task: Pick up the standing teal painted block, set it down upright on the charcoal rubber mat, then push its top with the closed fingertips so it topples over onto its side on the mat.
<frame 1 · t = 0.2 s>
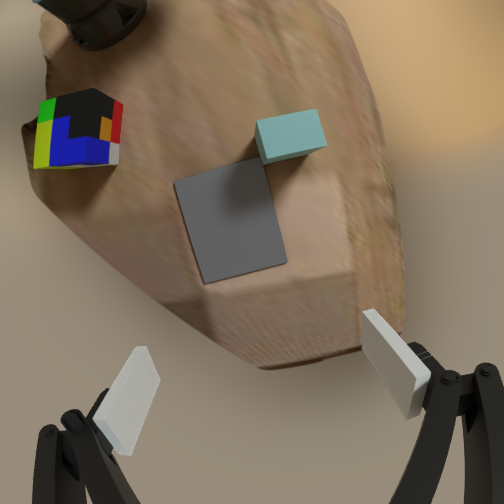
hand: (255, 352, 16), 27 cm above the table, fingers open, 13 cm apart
puzzle toy: (95, 137, 38), on the table
rubber mat: (231, 221, 41), on the table
teal block: (281, 144, 38), on the table
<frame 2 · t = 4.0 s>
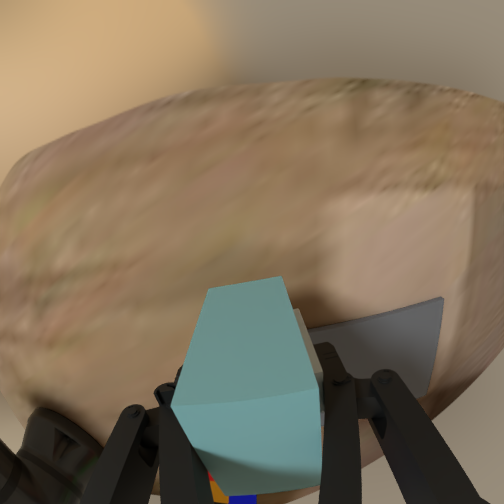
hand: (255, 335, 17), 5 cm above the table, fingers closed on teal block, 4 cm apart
puzzle toy: (217, 476, 30), on the table
rubber mat: (368, 371, 24), on the table
teal block: (254, 331, 18), point 5 cm above the table, touching gripper
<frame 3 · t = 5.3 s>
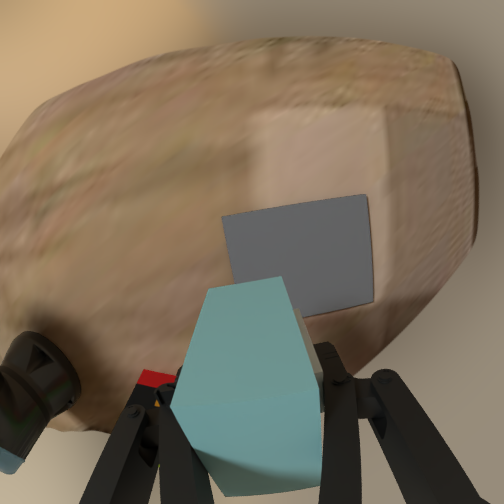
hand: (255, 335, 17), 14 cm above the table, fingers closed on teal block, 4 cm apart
puzzle toy: (178, 399, 36), on the table
rubber mat: (304, 261, 31), on the table
teal block: (254, 331, 18), point 14 cm above the table, touching gripper
when the fingers open (2 cm above the table, at t = 6.8 s): teal block stays where it is, resting on rubber mat.
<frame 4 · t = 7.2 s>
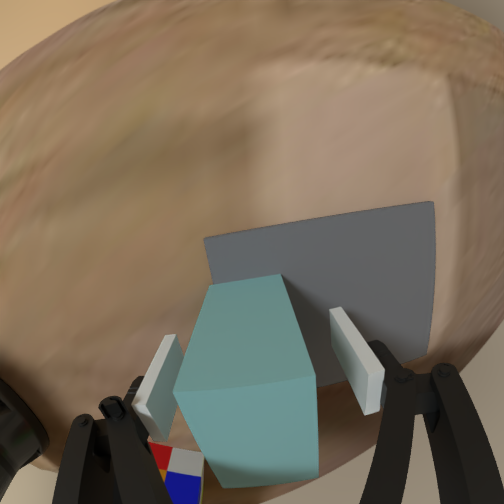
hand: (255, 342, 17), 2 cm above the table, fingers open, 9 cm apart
puzzle toy: (161, 464, 24), on the table
rubber mat: (338, 308, 19), on the table
teal block: (253, 328, 18), point 1 cm above the table, touching rubber mat
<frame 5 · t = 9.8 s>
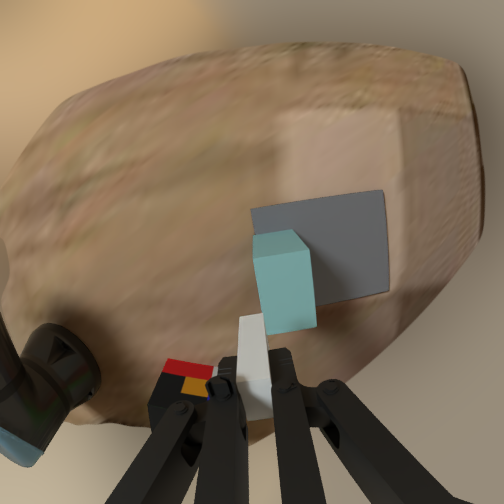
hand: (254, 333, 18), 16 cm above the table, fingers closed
puzzle toy: (201, 388, 38), on the table
rubber mat: (326, 252, 33), on the table
teal block: (277, 261, 32), point 1 cm above the table, touching rubber mat
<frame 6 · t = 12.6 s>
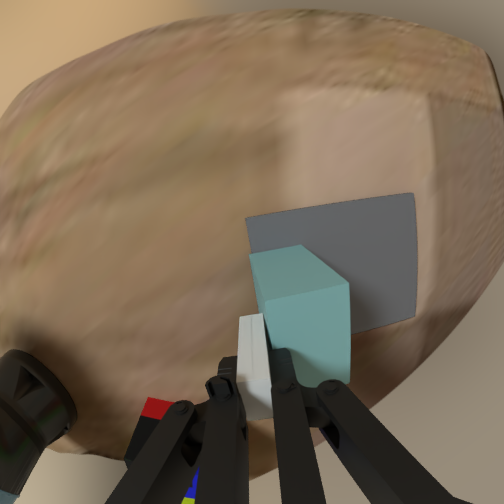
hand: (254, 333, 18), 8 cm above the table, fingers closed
puzzle toy: (189, 428, 30), on the table
rubber mat: (343, 272, 25), on the table
teal block: (281, 287, 24), point 1 cm above the table, touching gripper, rubber mat
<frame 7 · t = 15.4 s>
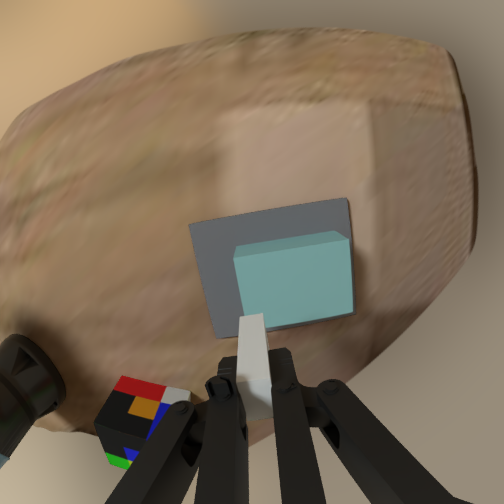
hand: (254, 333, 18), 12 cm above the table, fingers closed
puzzle toy: (157, 406, 35), on the table
rubber mat: (278, 271, 29), on the table
teal block: (241, 287, 27), point 3 cm above the table, tilted 90°, touching rubber mat
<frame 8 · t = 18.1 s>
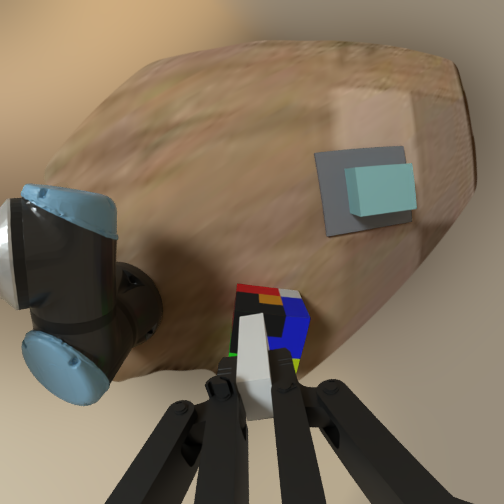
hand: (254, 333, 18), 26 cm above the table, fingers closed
puzzle toy: (263, 314, 47), on the table
rubber mat: (367, 188, 41), on the table
teal block: (352, 191, 39), point 3 cm above the table, tilted 90°, touching rubber mat
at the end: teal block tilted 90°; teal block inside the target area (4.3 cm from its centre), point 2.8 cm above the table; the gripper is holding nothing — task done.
